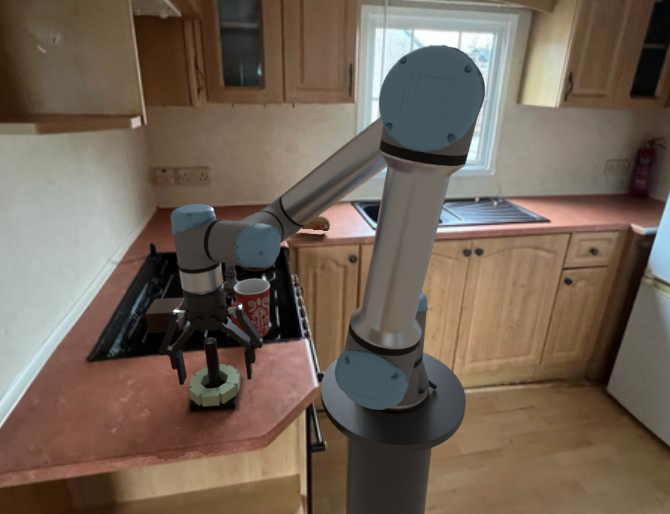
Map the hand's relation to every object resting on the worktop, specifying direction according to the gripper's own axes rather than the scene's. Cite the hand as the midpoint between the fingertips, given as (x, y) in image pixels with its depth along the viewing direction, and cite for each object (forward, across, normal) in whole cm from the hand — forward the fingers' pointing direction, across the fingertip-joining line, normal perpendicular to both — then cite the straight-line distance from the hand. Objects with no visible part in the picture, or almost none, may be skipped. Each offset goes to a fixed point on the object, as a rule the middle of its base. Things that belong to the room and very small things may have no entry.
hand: (216, 378), depth 85 cm
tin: (+4, -24, -99) cm, 102 cm away
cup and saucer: (+4, -2, -65) cm, 65 cm away
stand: (+4, +1, 0) cm, 5 cm away
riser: (+4, +19, -29) cm, 35 cm away
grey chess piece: (+4, +4, -45) cm, 46 cm away
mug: (+4, -4, -22) cm, 23 cm away
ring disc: (+3, +1, 0) cm, 3 cm away
